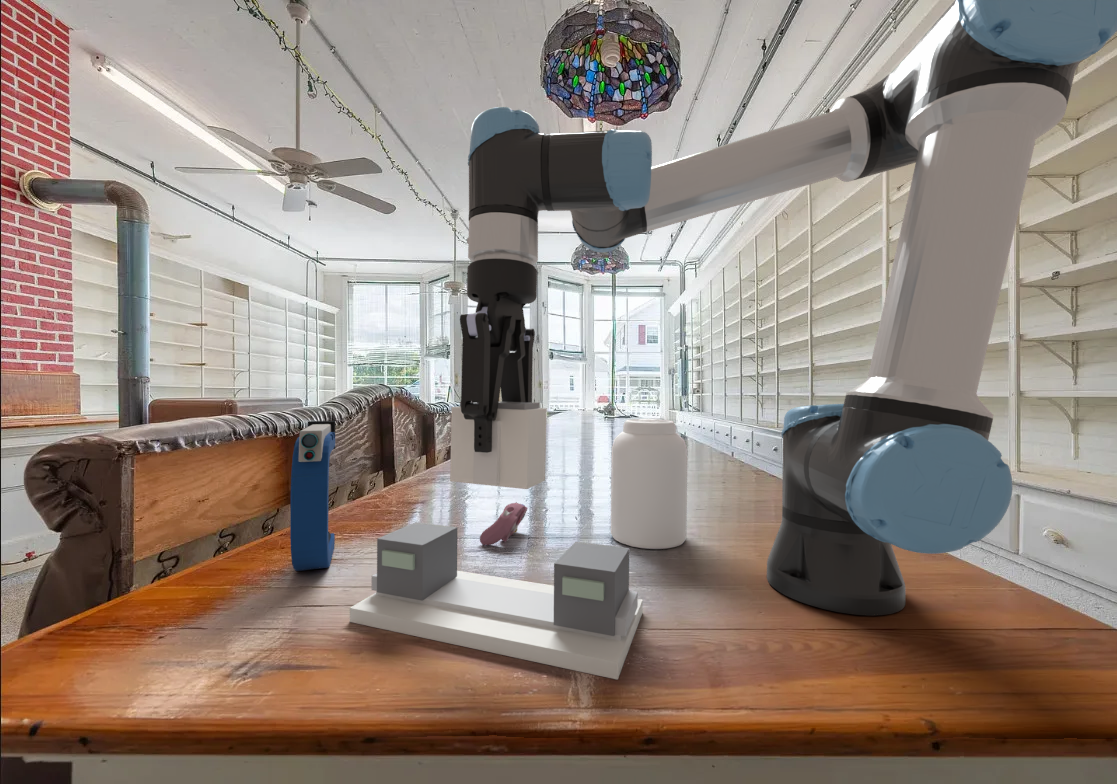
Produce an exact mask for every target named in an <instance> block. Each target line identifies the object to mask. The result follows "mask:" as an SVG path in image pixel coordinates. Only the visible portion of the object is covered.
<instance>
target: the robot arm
mask: <svg viewBox="0 0 1117 784" xmlns="http://www.w3.org/2000/svg"><path fill="white" fill-rule="evenodd" d="M1116 33H1117V0H954V1H953V2H952V3H951V4H950V5H949V6H948V7H947V8H946V10H945V11H944V12H943V13H942V14H941V15H940V17H938V19H937V20H936V21H935V22H934V23H933V25H931V27H930V28H929V29H928V31H927V32H926V33H925V34H924V35H923V36H922V38H921V39H920V40H919V41H918V42H917V43H916V44H915V45H914V46H913V48H911V50H909V52H908V53H907V54H906V55H905V57H904V58H903V59H902V60H901V61H900V63H899V64H898V65H897V66H895V68H894V69H893V70H892V71H891V72H890V73H888V74H887V75H886V76H885V77H883V78H882V79H881V80H880V81H878V82H876V83H875V84H874V85H872V86H871V87H870V86H869V88H867V89H865V90H863V91H861V92H859V93H857V94H854V95H850V96H847V97H844V98H841V99H839V100H838V101H837V102H836V103H835V104H834V105H833V107H832V109H831V110H830V112H826V113H822V114H820V115H819V114H818V115H816V116H812V117H810V118H806V119H803V120H800V121H797V122H794V123H791V124H786V125H784V126H782V127H777V128H775V129H771V130H768V131H764V132H762V133H759V134H755V135H753V136H748V137H745V138H742V139H739V140H736V141H733V142H730V143H727V144H723V145H719V146H717V147H714V148H710V149H707V150H703V151H701V152H698V153H694V154H690V155H688V156H684V157H682V158H678V159H674V160H672V161H668V162H665V163H662V164H659V165H655V166H653V165H652V164H653V162H652V161H653V160H652V159H653V145H652V144H653V143H652V139H651V137H650V135H649V133H647V132H646V131H643V130H619V129H616V128H611V129H610V130H593V131H577V132H565V133H564V132H563V133H550V134H546V133H543V132H542V133H541V132H540V126H539V123H538V122H537V120H536V119H535V117H534V116H532V114H530V113H528V112H526V111H525V110H522V109H515V110H514V109H512V108H510V107H509V106H497V107H492V108H489V109H486V110H484V111H482V112H481V113H479V114H478V115H477V116H476V117H475V119H473V122H472V125H471V130H470V141H469V145H470V146H469V153H468V157H467V158H468V159H467V167H468V237H467V238H466V243H467V246H468V247H467V248H468V249H467V251H468V252H467V257H468V260H469V261H470V262H471V263H469V265H468V266H467V267H466V268H467V274H466V276H467V278H466V280H467V281H466V287H467V288H466V295H467V297H468V299H469V300H471V301H473V302H474V303H477V305H476V308H475V312H474V313H472V312H471V313H461V314H460V316H459V324H460V328H461V329H460V330H461V336H462V345H461V347H462V349H461V352H462V353H461V361H462V362H461V391H460V392H461V393H460V401H461V412H462V414H464V418H465V419H467V420H474V464H473V483H480V484H479V485H481V484H491V485H498V484H500V444H501V421H495V420H496V417H497V410H498V402H499V400H500V395H501V402H528V403H533V361H534V360H533V358H534V357H533V355H534V352H533V351H534V350H533V348H534V341H535V335H536V333H535V332H536V331H535V329H534V328H527V327H526V323H525V322H526V320H525V315H524V307H525V306H526V305H528V304H532V303H534V302H535V301H536V299H537V295H538V293H537V292H538V288H537V287H538V270H537V269H536V267H535V266H534V265H535V264H536V263H538V260H539V218H538V217H539V212H540V211H547V212H562V211H563V212H564V211H566V212H568V211H569V212H570V214H571V223H572V228H573V230H574V232H575V233H576V236H577V237H578V239H579V241H580V242H581V244H582V245H583V246H585V247H586V248H587V249H589V250H590V251H592V252H597V253H608V252H611V251H614V250H615V249H617V248H618V247H620V245H622V244H623V242H625V240H626V239H628V238H630V237H634V236H637V235H640V234H644V233H647V232H652V231H654V230H659V229H661V228H664V227H668V226H671V225H674V224H678V223H681V222H686V221H688V220H692V219H697V218H699V217H703V216H706V215H709V214H713V213H717V212H720V211H723V210H726V209H727V210H728V209H729V208H734V207H737V206H741V205H743V204H747V203H750V202H753V201H757V200H761V199H765V198H767V197H771V196H775V195H778V194H781V193H786V192H789V191H792V190H796V189H799V188H802V187H805V186H808V185H813V184H816V183H819V182H823V181H826V180H831V179H833V178H837V179H839V180H840V181H842V182H844V183H845V182H846V183H848V182H852V181H857V180H859V179H864V178H866V177H870V176H874V175H877V174H881V173H885V172H888V171H891V170H895V169H899V168H903V167H905V166H908V165H912V164H915V165H914V170H913V174H912V177H911V178H912V179H911V182H910V187H909V192H908V197H907V200H906V205H905V208H904V209H905V210H904V215H903V218H902V222H901V223H902V224H901V227H900V231H899V237H898V241H897V245H896V248H895V249H896V250H895V253H894V254H895V255H894V259H893V263H892V267H891V271H890V276H889V280H888V285H887V290H886V294H885V297H884V302H883V307H882V311H881V316H880V321H879V325H878V330H877V334H876V339H875V343H874V348H873V351H872V356H871V360H870V365H869V369H868V374H867V377H866V379H864V382H861V383H860V384H858V385H856V386H854V388H851V389H850V390H848V391H847V392H846V393H845V398H844V402H843V403H832V404H831V403H830V404H828V403H827V404H816V405H814V404H813V405H801V406H797V407H793V408H791V409H790V408H789V410H787V412H786V413H785V414H784V417H783V427H782V428H783V429H782V430H781V439H782V479H781V481H782V482H781V483H782V485H781V486H782V488H781V489H782V496H781V497H782V499H781V502H782V505H781V506H782V507H781V508H782V509H781V522H780V526H779V528H778V531H777V534H776V536H775V539H774V542H773V544H772V547H771V549H770V552H769V555H768V557H767V561H766V579H767V580H766V581H767V582H768V584H769V585H770V586H771V587H773V589H775V590H776V591H777V592H779V593H781V594H782V595H784V596H786V597H788V598H791V599H793V600H794V601H797V602H800V603H803V604H804V605H808V606H812V607H815V608H819V609H822V610H825V611H831V612H835V613H842V614H847V615H849V614H850V615H857V616H883V615H891V614H895V613H897V612H900V611H902V610H903V609H904V608H905V606H906V583H905V579H904V577H903V574H902V571H901V569H900V566H899V565H900V564H899V563H898V561H897V557H896V554H895V552H894V551H895V550H894V549H893V546H895V547H897V548H899V549H902V550H905V551H908V552H912V553H919V554H925V555H927V554H929V555H933V554H935V555H936V554H945V553H951V552H952V553H953V552H956V551H959V550H962V549H963V548H964V547H967V546H969V545H970V544H972V543H973V544H974V543H977V542H979V541H981V540H983V538H985V537H987V536H988V535H989V534H990V533H992V532H993V530H995V528H997V526H998V525H999V524H1000V522H1001V521H1002V520H1003V518H1004V516H1005V515H1006V513H1007V511H1008V509H1009V506H1010V503H1011V500H1012V495H1013V478H1012V473H1011V469H1010V466H1009V464H1007V463H1005V462H1004V460H1003V459H1002V457H1003V455H1002V452H1001V451H1000V450H999V449H998V448H997V447H996V446H995V445H994V444H993V443H992V442H990V441H989V439H990V438H989V437H990V435H991V431H992V430H991V429H992V425H993V420H994V414H993V413H992V412H991V411H990V409H988V407H987V406H985V404H984V403H983V402H982V401H981V400H980V398H979V396H978V394H977V393H978V389H979V384H980V380H981V376H982V372H983V367H984V363H985V358H986V355H987V349H988V345H989V341H990V338H991V333H992V328H993V324H994V321H995V317H996V316H995V315H996V311H997V307H998V303H999V299H1000V293H1001V289H1002V286H1003V281H1004V276H1005V273H1006V269H1007V263H1008V260H1009V255H1010V251H1011V246H1012V243H1013V239H1014V234H1015V231H1016V225H1017V221H1018V217H1019V212H1020V208H1021V205H1022V201H1023V196H1024V192H1025V191H1024V190H1025V187H1026V184H1027V183H1026V182H1027V179H1028V174H1029V170H1030V166H1031V161H1032V157H1033V153H1034V149H1035V144H1036V140H1037V139H1039V138H1041V137H1042V136H1043V135H1045V134H1046V133H1048V132H1049V131H1051V130H1053V129H1054V128H1055V127H1056V126H1057V125H1058V124H1059V123H1060V122H1061V121H1062V120H1063V118H1064V116H1065V115H1066V111H1067V106H1068V105H1069V104H1068V103H1069V98H1070V95H1071V89H1072V86H1073V83H1074V77H1075V74H1076V71H1077V69H1078V67H1079V65H1080V64H1081V62H1082V61H1083V60H1086V59H1088V58H1089V57H1091V56H1093V55H1095V54H1096V53H1098V52H1099V51H1100V50H1101V49H1102V48H1103V47H1104V46H1105V44H1106V43H1107V42H1108V41H1109V40H1111V38H1112V37H1113V36H1114V35H1115V34H1116ZM471 401H472V402H471Z"/></svg>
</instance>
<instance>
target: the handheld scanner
mask: <svg viewBox="0 0 1117 784" xmlns="http://www.w3.org/2000/svg"><path fill="white" fill-rule="evenodd" d="M335 449H336V421H335V420H309V421H307V426H306V427H305V428H303V429H302V430H300V431H299V436H298V437H297V438H296V440H295V441H294V443H293V452H292V453H293V454H292V460H291V461H292V462H291V473H290V513H289V514H290V521H289V522H290V523H289V524H290V525H289V526H290V529H289V531H290V533H289V535H290V537H289V538H290V557H291V558H290V559H291V563H292V567H293V570H294V571H296V572H301V571H310V570H317V569H319V570H320V569H327V568H330V566H331V563H332V559H333V554H334V550H335V544H336V543H335V542H336V540H335V535H336V534H335V533H333V532H332V533H330V531H329V495H330V494H329V489H330V487H329V484H330V483H329V481H330V479H329V478H330V458H331V453H332V452H333V450H335Z"/></svg>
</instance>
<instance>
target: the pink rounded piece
mask: <svg viewBox="0 0 1117 784" xmlns="http://www.w3.org/2000/svg"><path fill="white" fill-rule="evenodd" d="M527 511H528V507H527V506H526V505H525V504H523V503H519V502H517V501H515V502H512V503H509V504H507V505H506V506H504V509H503V511H502V512H501V513H500V515H499V516H498V518H497V520H495V521H494V522H493V523H492V524H491V525H489V526H488V527H487V528H486V529H485V530H483V531H482V533H481V535H480V536H479V542H480V544H481V545H483V546H492V545H494V544H496V543H497V542H500V541H503V542H505V543H506V542H507V541H508V540H509V538H510V536H513V535H514V534H516V533H517V532H518V527H519V525H520V523H521V522H522V521H523V520H524V518H525V516H526V513H527Z"/></svg>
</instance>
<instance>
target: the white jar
mask: <svg viewBox="0 0 1117 784" xmlns="http://www.w3.org/2000/svg"><path fill="white" fill-rule="evenodd" d="M675 424H676V423H675V422H674V421H673V420H670V419H660V418H659V419H658V418H629V419H626V420H625V421H624V423H623V427H622V431H621V432H620V433H619V434H618V435H617V436H616V437H615V438H614V439H613V443H612V446H611V461H610V462H611V469H610V471H611V472H610V473H611V477H610V478H611V481H610V483H611V484H610V492H611V493H610V534H611V536H612V538H613V539H614V540H615V541H617V542H619V543H620V544H623V545H625V546H626V545H627V546H630V547H634V548H637V549H638V548H640V549H645V550H646V549H647V550H649V549H650V550H662V549H663V550H665V549H671V548H676V547H679V546H681V545H683V543H685V541H686V539H687V530H688V529H687V528H688V527H687V526H688V525H687V522H688V521H687V519H688V517H687V516H688V512H687V511H688V452H689V451H688V448H687V444H686V441H685V439H684V438H683V437H682V436H680V434H679V433H677V426H676V425H675Z"/></svg>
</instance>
